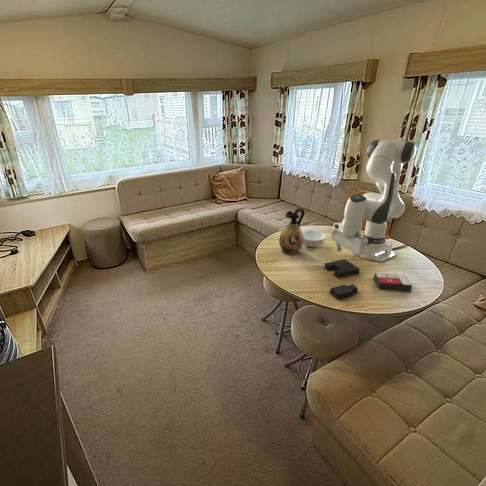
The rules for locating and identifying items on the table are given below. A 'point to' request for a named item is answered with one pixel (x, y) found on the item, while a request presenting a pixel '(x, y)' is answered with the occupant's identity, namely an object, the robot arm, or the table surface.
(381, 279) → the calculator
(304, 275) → the table surface
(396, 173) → the robot arm
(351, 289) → the pad
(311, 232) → the cereal bowl
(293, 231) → the ceramic jug
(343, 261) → the pad
